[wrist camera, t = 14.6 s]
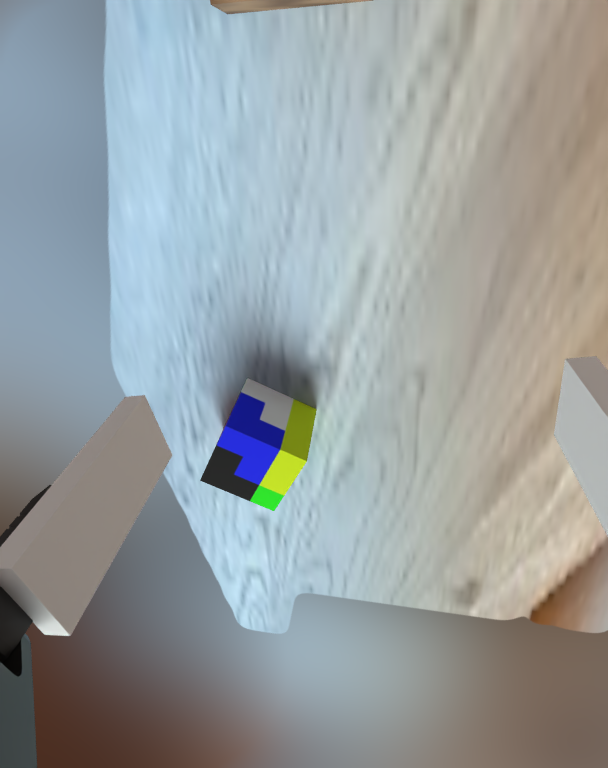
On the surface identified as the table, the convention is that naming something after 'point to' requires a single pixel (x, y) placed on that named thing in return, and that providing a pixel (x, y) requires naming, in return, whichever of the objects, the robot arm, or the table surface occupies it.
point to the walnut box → (270, 4)
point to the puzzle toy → (261, 446)
